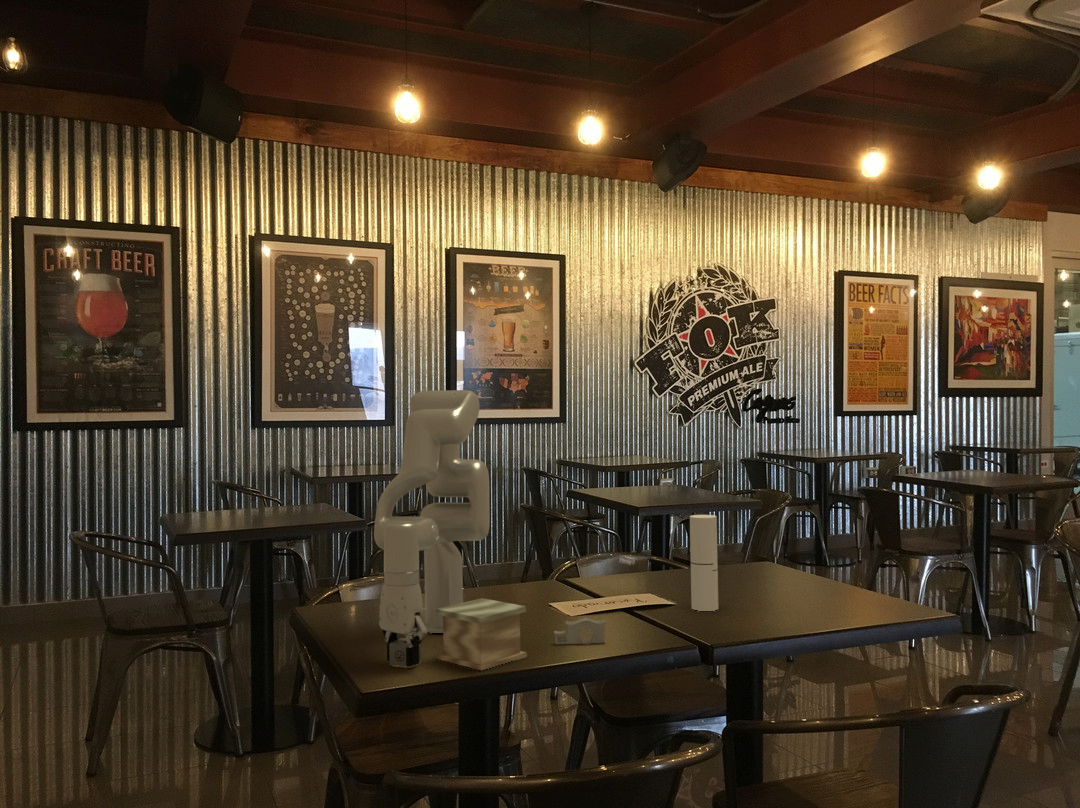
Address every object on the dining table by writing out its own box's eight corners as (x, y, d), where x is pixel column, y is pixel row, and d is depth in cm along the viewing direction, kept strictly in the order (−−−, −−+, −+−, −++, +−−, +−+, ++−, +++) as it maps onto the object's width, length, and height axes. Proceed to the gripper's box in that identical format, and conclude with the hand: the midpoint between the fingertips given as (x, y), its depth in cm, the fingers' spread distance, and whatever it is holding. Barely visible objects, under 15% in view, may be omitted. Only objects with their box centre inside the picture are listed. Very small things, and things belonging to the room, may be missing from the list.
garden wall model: (554, 645, 208) (554, 619, 208) (554, 643, 210) (553, 617, 210) (606, 643, 208) (605, 618, 208) (605, 641, 210) (604, 616, 210)
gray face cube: (409, 668, 191) (409, 645, 191) (389, 666, 193) (389, 643, 193) (421, 662, 196) (421, 639, 196) (401, 660, 198) (401, 637, 198)
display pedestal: (437, 659, 197) (436, 609, 198) (482, 646, 208) (482, 598, 208) (481, 671, 188) (480, 618, 188) (527, 656, 198) (526, 606, 198)
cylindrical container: (686, 607, 244) (685, 515, 244) (710, 605, 246) (708, 514, 246) (699, 612, 237) (697, 518, 237) (723, 610, 240) (721, 517, 240)
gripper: (363, 576, 197) (364, 659, 197) (414, 585, 186) (415, 673, 185) (390, 572, 203) (391, 652, 202) (441, 580, 191) (442, 665, 191)
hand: (403, 661), depth 194 cm, fingers closed on gray face cube, 5 cm apart
